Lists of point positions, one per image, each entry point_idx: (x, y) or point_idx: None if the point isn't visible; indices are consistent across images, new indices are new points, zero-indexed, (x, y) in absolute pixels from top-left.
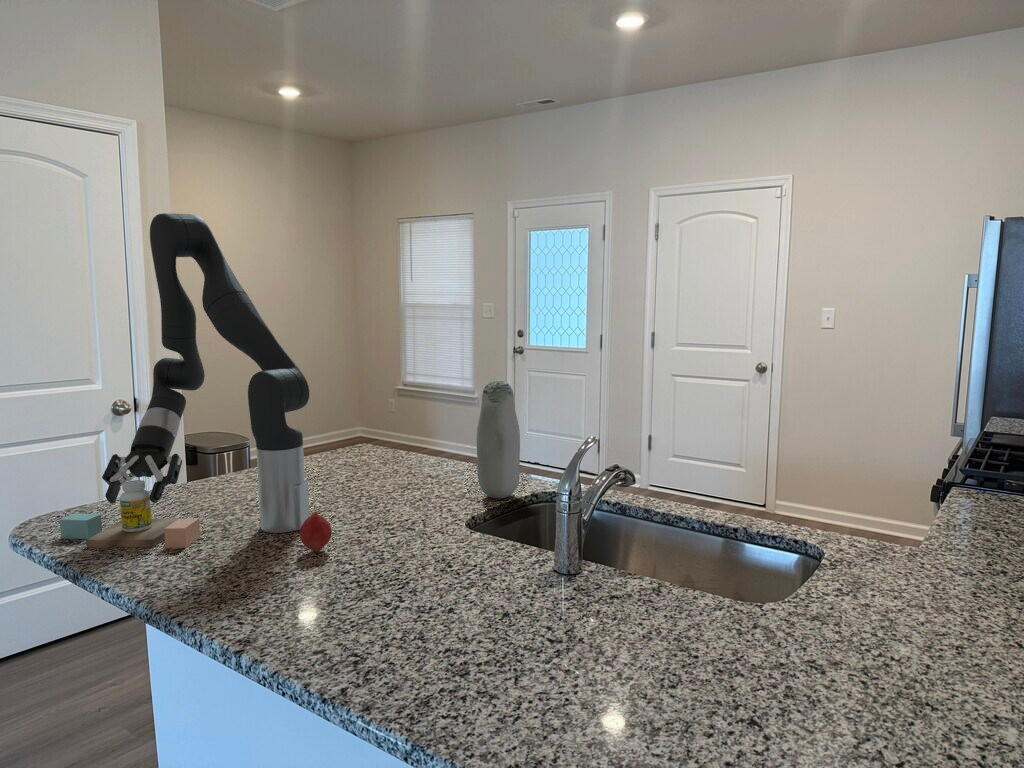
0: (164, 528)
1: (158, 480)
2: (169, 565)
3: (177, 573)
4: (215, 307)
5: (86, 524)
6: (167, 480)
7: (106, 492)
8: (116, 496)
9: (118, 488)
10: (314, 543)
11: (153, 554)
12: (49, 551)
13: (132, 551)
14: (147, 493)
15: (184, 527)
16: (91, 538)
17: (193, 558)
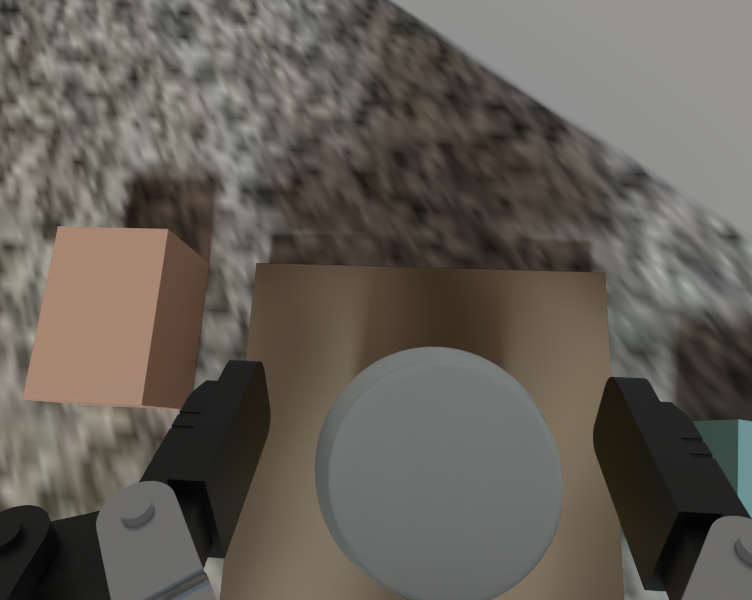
0: (167, 231)
1: (155, 490)
2: (125, 76)
3: (74, 9)
4: None
5: (727, 420)
6: (68, 519)
7: (703, 443)
8: (613, 485)
9: (643, 543)
10: None
11: (232, 187)
12: (747, 247)
13: (341, 227)
14: (319, 472)
15: (63, 238)
16: (592, 297)
17: (54, 138)
